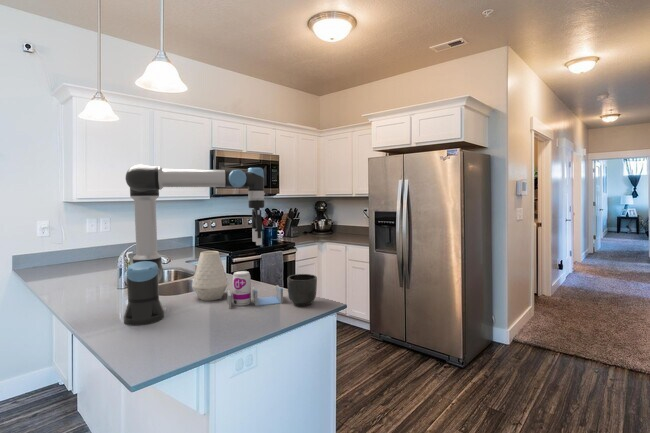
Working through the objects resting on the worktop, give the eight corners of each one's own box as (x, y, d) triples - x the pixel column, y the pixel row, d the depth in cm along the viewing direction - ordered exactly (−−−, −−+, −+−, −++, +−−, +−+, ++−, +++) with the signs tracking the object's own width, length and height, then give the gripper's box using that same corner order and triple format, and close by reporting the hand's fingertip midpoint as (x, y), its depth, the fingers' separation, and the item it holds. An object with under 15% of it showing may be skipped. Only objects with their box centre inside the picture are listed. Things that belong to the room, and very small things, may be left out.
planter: (292, 299, 184) (291, 273, 183) (319, 300, 181) (319, 274, 180) (284, 307, 170) (283, 280, 169) (313, 309, 168) (313, 281, 167)
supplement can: (246, 306, 172) (246, 274, 171) (230, 305, 174) (229, 274, 173) (253, 301, 180) (253, 271, 179) (237, 300, 182) (237, 270, 181)
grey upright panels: (228, 308, 169) (228, 293, 169) (227, 301, 180) (226, 286, 180) (283, 303, 177) (282, 288, 176) (278, 296, 188) (278, 282, 188)
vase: (187, 296, 189) (186, 252, 188) (220, 291, 200) (219, 248, 198) (199, 304, 175) (198, 256, 174) (234, 298, 186) (233, 252, 185)
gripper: (268, 200, 170) (269, 246, 171) (260, 199, 193) (261, 239, 195) (251, 200, 167) (252, 247, 169) (245, 199, 191) (246, 240, 192)
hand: (257, 243), depth 182 cm, fingers open, 13 cm apart
